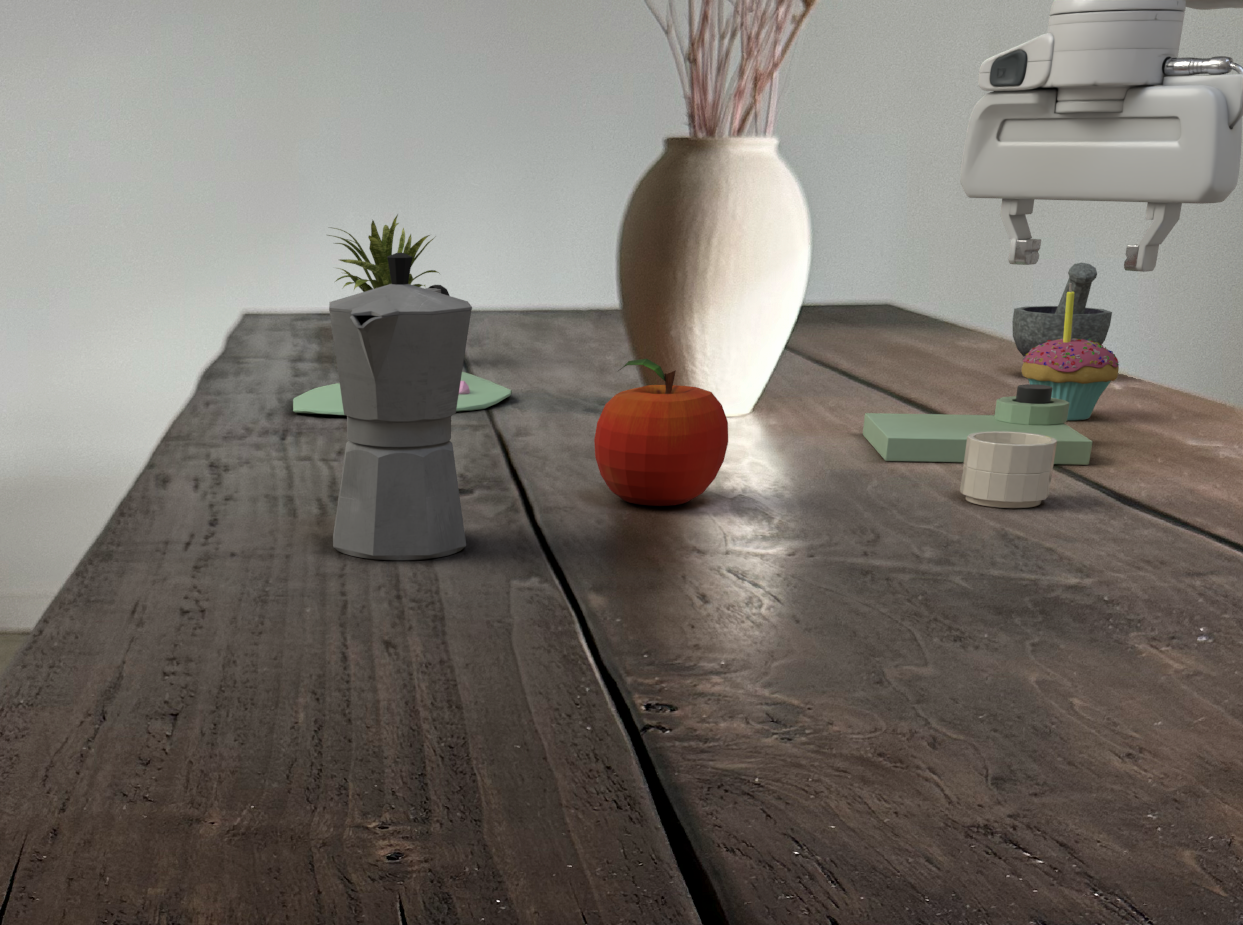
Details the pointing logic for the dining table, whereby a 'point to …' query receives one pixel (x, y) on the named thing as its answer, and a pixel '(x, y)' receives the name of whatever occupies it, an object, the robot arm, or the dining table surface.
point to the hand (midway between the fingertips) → (1079, 267)
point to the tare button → (1034, 394)
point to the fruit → (661, 441)
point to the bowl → (1007, 469)
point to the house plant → (380, 257)
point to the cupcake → (1072, 368)
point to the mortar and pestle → (1062, 315)
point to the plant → (470, 397)
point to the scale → (949, 432)
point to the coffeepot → (399, 418)
